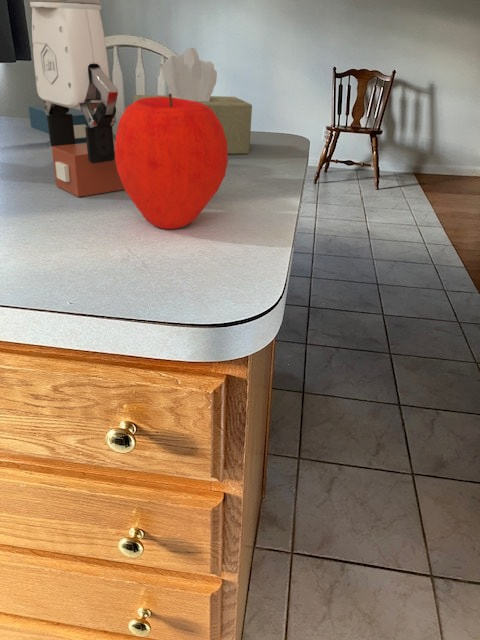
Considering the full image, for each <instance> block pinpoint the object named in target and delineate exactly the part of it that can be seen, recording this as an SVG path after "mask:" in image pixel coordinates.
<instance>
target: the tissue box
mask: <svg viewBox="0 0 480 640" xmlns="http://www.w3.org/2000/svg"><path fill="white" fill-rule="evenodd" d="M160 67H161V69H162V72H163V76H164V79H165V83H166V86H167V89H168V91H169V94H172V98H178V99H184V100H189V101H194V102H199V103H203V104H204V105H206V106H208V107H210V108H211V109H212V110H213V112H214V113H215V115H216V117H217V118H218V120H219V121H220V123H221V125H222V127H223V130H224V133H225V137H226V140H227V153H228V155H250V147H251V130H252V114H253V105H252V104H251V103H249V102H247V101H245V100H242V99H240V98H238V97H237V96H222V95H221V96H220V95H219V96H217V95H215V96H214V95H212V94H213V92H214V88H215V86H216V84H217V78H218V71H217V70H216V69H215V65H214V63H213V62H212V61H211V60H210V61H204V60H200V55H199V53H198V50H197V49H196V48H193V47H189V48H186V50H185V51H184V52H183V53H182V54H180V55H178V56H176V55H174V54H173V55H171V56H170V57H169V58H168V59H167V60H166V61H165V62H162V63H160ZM169 94H167V95H163V94H160V95H159V94H153V95H152V94H134V95H133V99H132V100H133V102H132V103H134V102H136V101H137V100H139V99H143V98H150V97H169Z"/></svg>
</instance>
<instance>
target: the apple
mask: <svg viewBox="0 0 480 640" xmlns="http://www.w3.org/2000/svg"><path fill="white" fill-rule="evenodd" d="M168 96H169V97H150V98H143V99H139V100H137V101H136V102H134V103H133V102H132V103H131V104H129V105H128V106H126V107H125V109H124V111H123V112H122V115H121V116H120V118H119V120H118V125H117V128H116V133H115V140H116V145H115V160H116V166H117V172H118V174H119V177H120V179H121V181H122V184H123V186H124V189H123V190H124V191H125V193H126V194H127V196H128V197H129V198H130V200H131V201H132V203H133V204H134V206H135V207H136V208H137V210H138V211H139V213H140V214H141V215H142V217H143V218H144V219H145V220H146V222H147V223H150V224H151V225H153V226H154V227H157V228H160V229H162V230H163V229H165V230H176V229H181V228H183V227H185V226H187V225H189V224H190V223H192V222H194V221H195V220H196V219H197V218H198V217H199V215H200V214H201V213H202V212H203V210H204V209H205V207H206V206H207V205H208V204H209V202H210V201H211V200H212V199H213V197H214V196H215V195H216V193H217V192H218V191H219V189H220V187H221V185H222V183H223V180H224V179H225V176H226V172H227V167H228V163H229V157H228V156H229V154H228V153H227V140H226V137H225V133H224V130H223V127H222V125H221V123H220V121H219V120H218V118H217V117H216V115H215V113H214V112H213V110H212V109H211V108H210V107H208V106H206V105H204V104H203V103H199V102H194V101H189V100H184V99H178V98H172V94H170V93H169V94H168Z"/></svg>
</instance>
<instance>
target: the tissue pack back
mask: <svg viewBox="0 0 480 640" xmlns="http://www.w3.org/2000/svg"><path fill="white" fill-rule="evenodd" d="M44 106H45V104H43V105H28V115H29V122H30V127H31V128H32V129H36V130H38V131H40V132H43V133H46V134H48V135H49V130H48V122H47V116H49V115H46V113H45V110H44ZM68 114H72V117H73V126H74V135H75V144H79V143H87V141H86V131H85V127H89V125H88V123H87V120H86V118H85V116H84V114H83V111H82V109H81V110H80V109H78V108H70V109H69V112H68ZM48 143H49V144H50V140H49V141H48Z"/></svg>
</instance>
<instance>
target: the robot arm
mask: <svg viewBox="0 0 480 640" xmlns="http://www.w3.org/2000/svg"><path fill="white" fill-rule="evenodd" d="M29 6H30V8H31V41H32V54H33V65H34V67H33V68H34V76H35V77H34V78H35V85H36V92H37V95H38V97H39V98H40V99H41V100H42V101H43V103H44V105H45V106H44V110H45V113H46V115H49V116H47V122H48V130H49V134H48V137H49V141H50V143H49V144H50V147H51V148H52V146H60V145H70V144H75V139H76V138H75V135H74V126H73V117H72V114H68V112H69V109H70V108H74V109H77V108H78V106H79V107H80V109H81V111H83V114H84V116H85V118H86V120H87V123H88V125H89V127H85V131H86V137H85V138H86V141H87V151H88V160H89V162H91V163H100V162H107V161H113V160H114V158H115V156H114V143H113V140H114V133H113V132H114V131H113V127H114V126H115V116H116V114H117V106H116V105H117V101H118V100H117V99H118V95H119V90H118V87H117V86H116V85H115V84H114V82H113V81H112V80H111V79H110V70H109V69H110V68H109V60H108V52H107V51H108V50H107V45H106V37H105V32H104V31H105V30H104V26H103V21H102V17H101V11H102V1H101V0H29ZM93 109H95V111H94V110H93Z"/></svg>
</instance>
